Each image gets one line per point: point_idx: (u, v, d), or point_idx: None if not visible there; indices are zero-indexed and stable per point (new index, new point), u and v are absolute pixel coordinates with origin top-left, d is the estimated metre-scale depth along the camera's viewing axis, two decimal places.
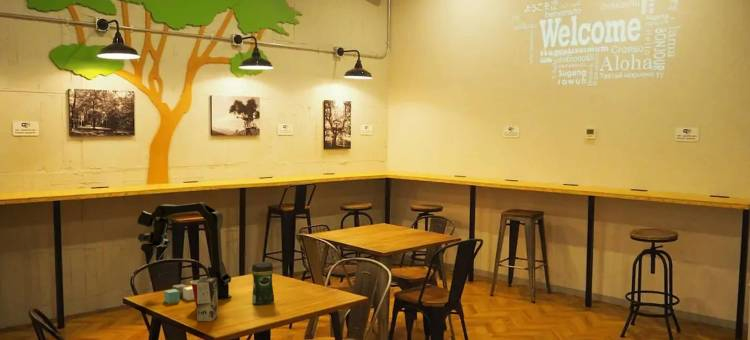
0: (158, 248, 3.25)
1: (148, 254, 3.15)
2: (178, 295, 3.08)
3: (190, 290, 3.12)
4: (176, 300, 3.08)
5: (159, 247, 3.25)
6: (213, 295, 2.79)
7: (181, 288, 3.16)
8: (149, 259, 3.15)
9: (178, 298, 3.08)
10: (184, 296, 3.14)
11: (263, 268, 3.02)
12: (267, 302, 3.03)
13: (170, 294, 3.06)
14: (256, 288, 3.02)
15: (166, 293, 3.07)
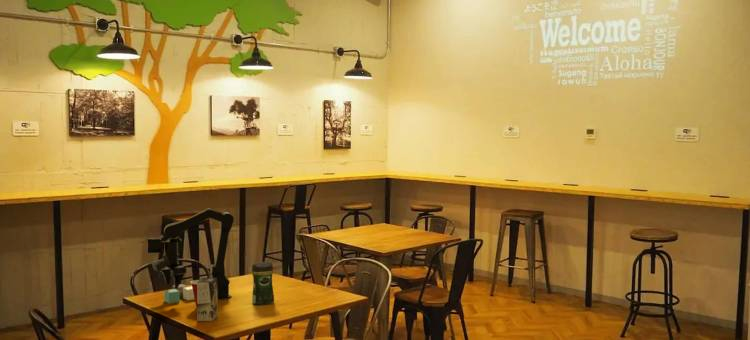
0: (165, 272, 3.11)
1: (177, 277, 3.04)
2: (178, 295, 3.08)
3: (190, 290, 3.12)
4: (176, 300, 3.08)
5: (166, 271, 3.12)
6: (213, 295, 2.79)
7: (181, 288, 3.16)
8: (179, 282, 3.05)
9: (178, 298, 3.08)
10: (184, 296, 3.14)
11: (263, 268, 3.02)
12: (267, 302, 3.03)
13: (170, 294, 3.06)
14: (256, 288, 3.02)
15: (166, 293, 3.07)
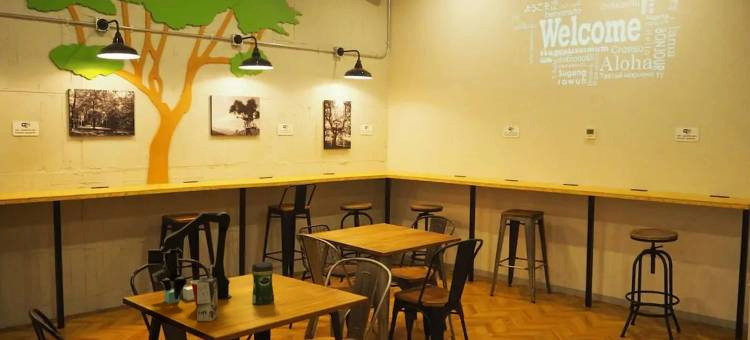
0: (165, 283, 3.12)
1: (177, 288, 3.04)
2: None
3: (190, 290, 3.12)
4: (176, 300, 3.08)
5: (166, 281, 3.12)
6: (213, 295, 2.79)
7: None
8: (179, 293, 3.05)
9: (178, 298, 3.08)
10: (184, 296, 3.14)
11: (263, 268, 3.02)
12: (267, 302, 3.03)
13: (170, 294, 3.06)
14: (256, 288, 3.02)
15: (166, 293, 3.07)
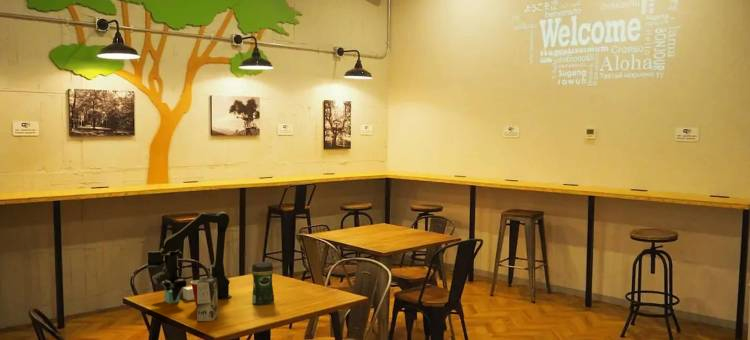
0: (167, 285, 3.10)
1: (175, 290, 3.06)
2: (178, 295, 3.08)
3: (190, 290, 3.12)
4: (176, 300, 3.08)
5: (168, 284, 3.11)
6: (213, 295, 2.79)
7: (181, 288, 3.16)
8: (177, 294, 3.06)
9: (178, 298, 3.08)
10: (184, 296, 3.14)
11: (263, 268, 3.02)
12: (267, 302, 3.03)
13: (170, 294, 3.06)
14: (256, 288, 3.02)
15: (166, 293, 3.07)
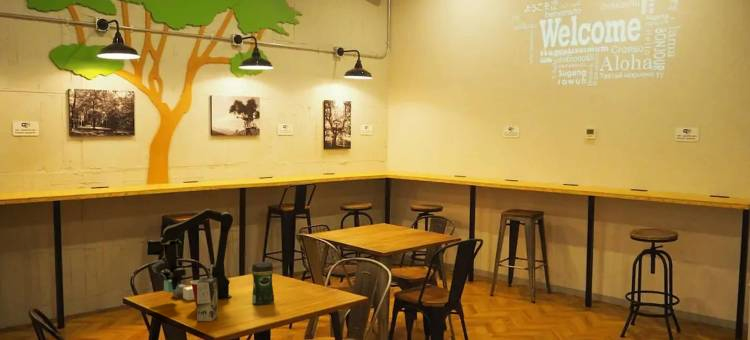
0: (167, 275, 3.10)
1: (174, 279, 3.05)
2: (178, 284, 3.08)
3: (190, 290, 3.12)
4: (176, 289, 3.07)
5: (167, 273, 3.10)
6: (213, 295, 2.79)
7: (181, 288, 3.16)
8: (176, 283, 3.06)
9: (178, 287, 3.08)
10: (184, 296, 3.14)
11: (263, 268, 3.02)
12: (267, 302, 3.03)
13: (170, 283, 3.05)
14: (256, 288, 3.02)
15: (166, 282, 3.07)
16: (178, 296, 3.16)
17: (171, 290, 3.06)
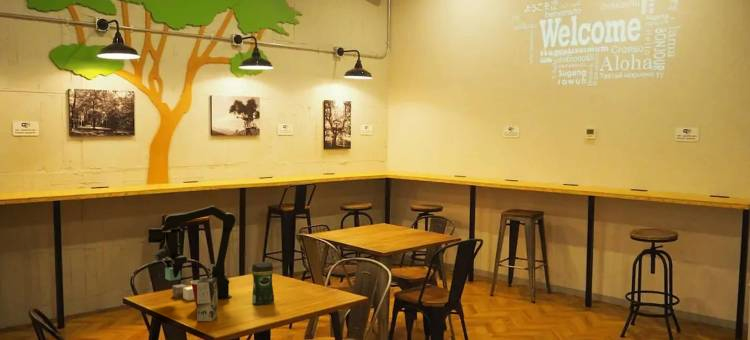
0: (168, 263, 3.10)
1: (176, 266, 3.06)
2: (179, 272, 3.08)
3: (190, 290, 3.12)
4: (177, 277, 3.08)
5: (169, 261, 3.11)
6: (213, 295, 2.79)
7: (181, 288, 3.16)
8: (178, 271, 3.07)
9: (179, 275, 3.08)
10: (184, 296, 3.14)
11: (263, 268, 3.02)
12: (267, 302, 3.03)
13: (171, 271, 3.06)
14: (256, 288, 3.02)
15: (167, 270, 3.07)
16: (178, 296, 3.16)
17: (172, 278, 3.06)
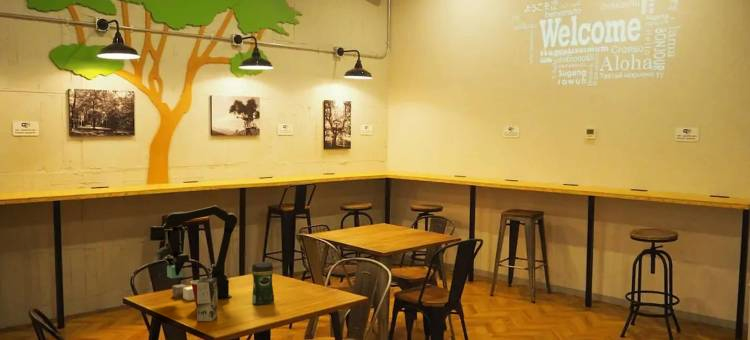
0: (170, 261, 3.12)
1: (178, 265, 3.07)
2: (181, 270, 3.09)
3: (190, 290, 3.12)
4: (179, 275, 3.09)
5: (170, 259, 3.12)
6: (213, 295, 2.79)
7: (181, 288, 3.16)
8: (179, 269, 3.08)
9: (181, 273, 3.09)
10: (184, 296, 3.14)
11: (263, 268, 3.02)
12: (267, 302, 3.03)
13: (173, 269, 3.07)
14: (256, 288, 3.02)
15: (169, 268, 3.08)
16: (178, 296, 3.16)
17: (174, 276, 3.07)
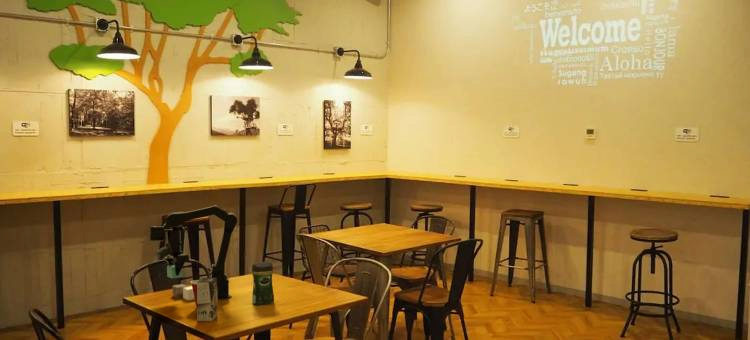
0: (170, 261, 3.12)
1: (178, 265, 3.07)
2: (181, 270, 3.09)
3: (190, 290, 3.12)
4: (179, 275, 3.09)
5: (170, 259, 3.12)
6: (213, 295, 2.79)
7: (181, 288, 3.16)
8: (179, 269, 3.08)
9: (181, 273, 3.09)
10: (184, 296, 3.14)
11: (263, 268, 3.02)
12: (267, 302, 3.03)
13: (173, 269, 3.07)
14: (256, 288, 3.02)
15: (169, 268, 3.08)
16: (178, 296, 3.16)
17: (174, 276, 3.07)
